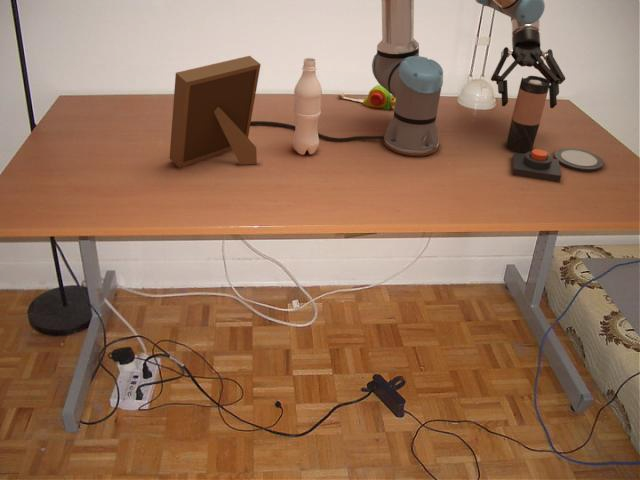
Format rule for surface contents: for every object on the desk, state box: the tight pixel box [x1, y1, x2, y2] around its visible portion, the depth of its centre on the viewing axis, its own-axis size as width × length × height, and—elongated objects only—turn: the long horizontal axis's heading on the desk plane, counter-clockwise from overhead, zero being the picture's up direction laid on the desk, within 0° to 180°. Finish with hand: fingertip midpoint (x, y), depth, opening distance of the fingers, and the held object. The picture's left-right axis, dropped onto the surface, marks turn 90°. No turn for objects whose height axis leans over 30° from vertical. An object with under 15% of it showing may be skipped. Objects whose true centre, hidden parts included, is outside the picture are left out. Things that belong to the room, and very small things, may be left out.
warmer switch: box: [511, 150, 562, 183], centre depth 170 cm, size 12×10×4 cm
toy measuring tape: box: [338, 84, 396, 111], centre depth 203 cm, size 6×20×7 cm, turn 65°
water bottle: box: [291, 57, 323, 156], centre depth 167 cm, size 7×7×25 cm
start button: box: [531, 148, 548, 161], centre depth 169 cm, size 4×4×2 cm
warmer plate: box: [553, 147, 604, 173], centre depth 177 cm, size 13×13×1 cm
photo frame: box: [169, 55, 261, 169], centre depth 159 cm, size 15×22×25 cm
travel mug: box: [505, 75, 551, 154], centre depth 177 cm, size 8×8×20 cm
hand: (529, 105), depth 176 cm, fingers open, 13 cm apart
